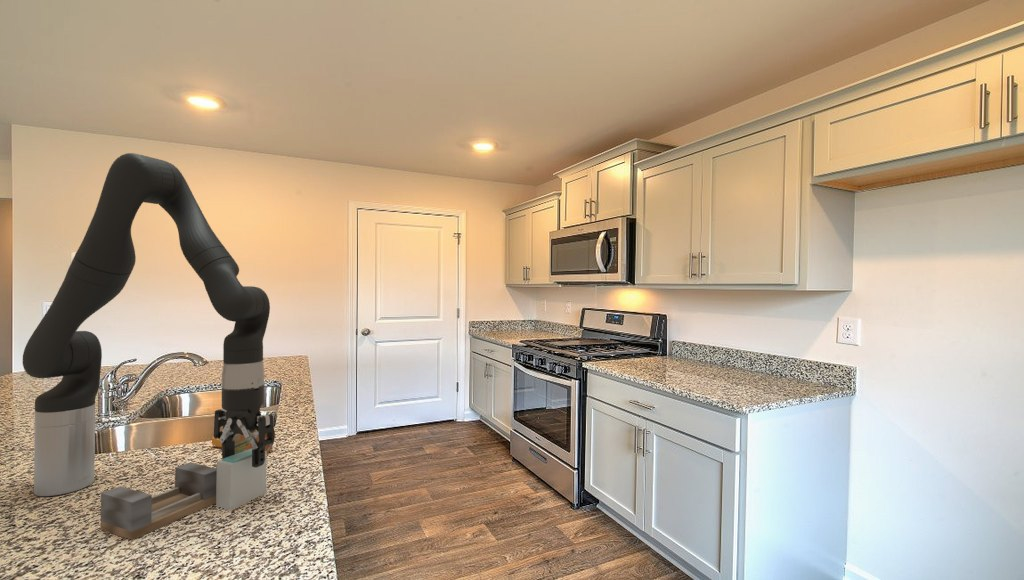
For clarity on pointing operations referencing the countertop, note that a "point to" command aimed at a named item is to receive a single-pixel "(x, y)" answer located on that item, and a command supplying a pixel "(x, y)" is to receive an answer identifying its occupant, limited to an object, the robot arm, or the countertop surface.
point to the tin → (248, 443)
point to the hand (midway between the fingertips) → (243, 462)
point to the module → (239, 480)
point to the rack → (158, 502)
